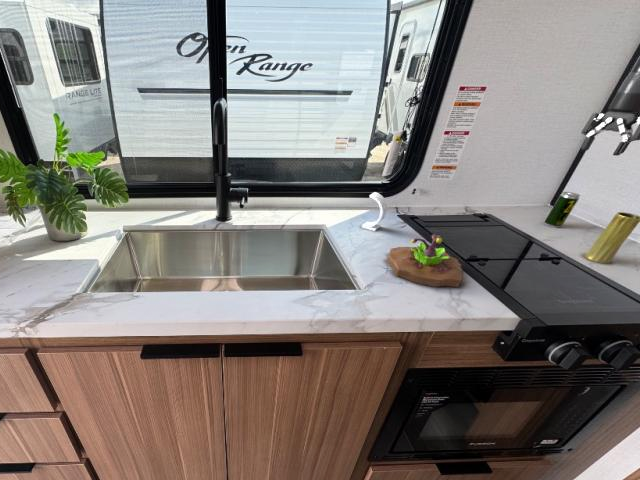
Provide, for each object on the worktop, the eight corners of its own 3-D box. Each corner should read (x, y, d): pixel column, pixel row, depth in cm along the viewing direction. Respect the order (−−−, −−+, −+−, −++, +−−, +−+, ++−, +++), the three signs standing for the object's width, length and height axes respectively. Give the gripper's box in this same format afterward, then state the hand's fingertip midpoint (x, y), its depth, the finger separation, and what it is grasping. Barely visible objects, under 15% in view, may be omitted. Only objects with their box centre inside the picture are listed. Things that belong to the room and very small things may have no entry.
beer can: (540, 223, 125) (558, 192, 118) (548, 221, 127) (567, 190, 120) (555, 228, 121) (575, 196, 114) (564, 226, 123) (584, 195, 116)
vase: (603, 265, 98) (638, 220, 90) (579, 256, 103) (610, 213, 94) (614, 261, 100) (648, 217, 92) (590, 253, 105) (621, 210, 96)
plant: (390, 280, 89) (403, 243, 82) (384, 250, 104) (394, 216, 98) (471, 292, 85) (491, 254, 78) (452, 258, 100) (467, 224, 94)
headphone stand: (366, 223, 122) (374, 192, 115) (382, 228, 119) (391, 195, 112) (361, 227, 119) (369, 194, 112) (377, 231, 116) (386, 198, 109)
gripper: (678, 92, 87) (635, 156, 97) (615, 90, 98) (582, 147, 108) (660, 92, 86) (618, 158, 95) (598, 90, 97) (566, 149, 106)
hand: (599, 152), depth 101 cm, fingers open, 8 cm apart
